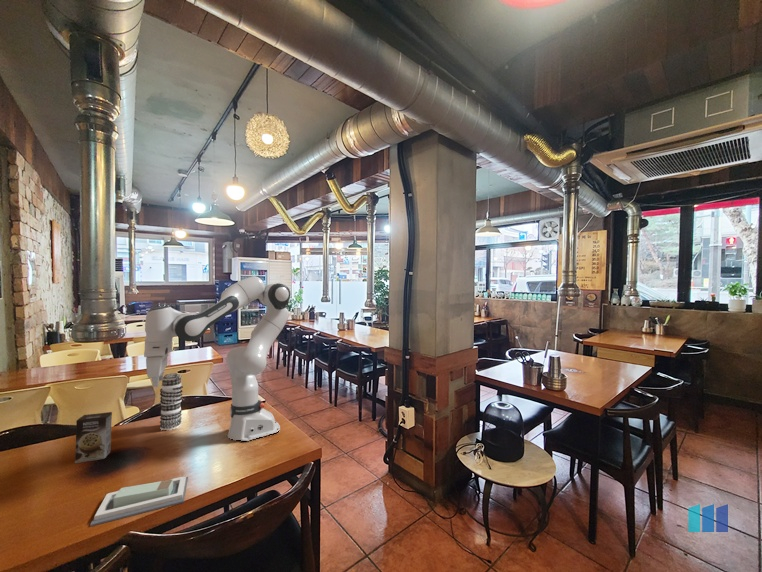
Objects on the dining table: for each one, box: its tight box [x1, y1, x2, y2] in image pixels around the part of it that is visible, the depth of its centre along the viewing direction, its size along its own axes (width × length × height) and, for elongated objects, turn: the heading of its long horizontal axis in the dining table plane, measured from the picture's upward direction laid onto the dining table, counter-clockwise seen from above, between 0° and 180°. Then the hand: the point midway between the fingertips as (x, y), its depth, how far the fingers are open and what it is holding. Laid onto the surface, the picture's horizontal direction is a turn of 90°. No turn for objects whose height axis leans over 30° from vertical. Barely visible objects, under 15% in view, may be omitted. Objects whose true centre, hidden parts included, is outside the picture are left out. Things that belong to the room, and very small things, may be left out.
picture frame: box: [89, 475, 189, 527], centre depth 98 cm, size 22×14×2 cm, turn 117°
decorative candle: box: [159, 372, 184, 431], centre depth 149 cm, size 9×9×25 cm
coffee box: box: [74, 411, 113, 464], centre depth 122 cm, size 9×6×16 cm
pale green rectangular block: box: [114, 478, 174, 508], centre depth 98 cm, size 5×14×3 cm, turn 110°
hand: (157, 383), depth 121 cm, fingers open, 8 cm apart
